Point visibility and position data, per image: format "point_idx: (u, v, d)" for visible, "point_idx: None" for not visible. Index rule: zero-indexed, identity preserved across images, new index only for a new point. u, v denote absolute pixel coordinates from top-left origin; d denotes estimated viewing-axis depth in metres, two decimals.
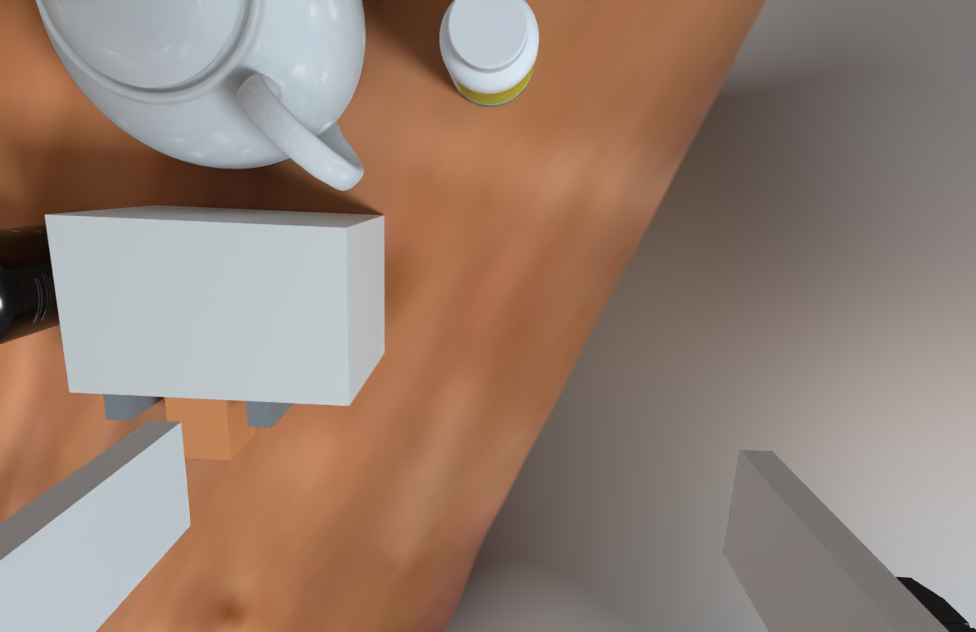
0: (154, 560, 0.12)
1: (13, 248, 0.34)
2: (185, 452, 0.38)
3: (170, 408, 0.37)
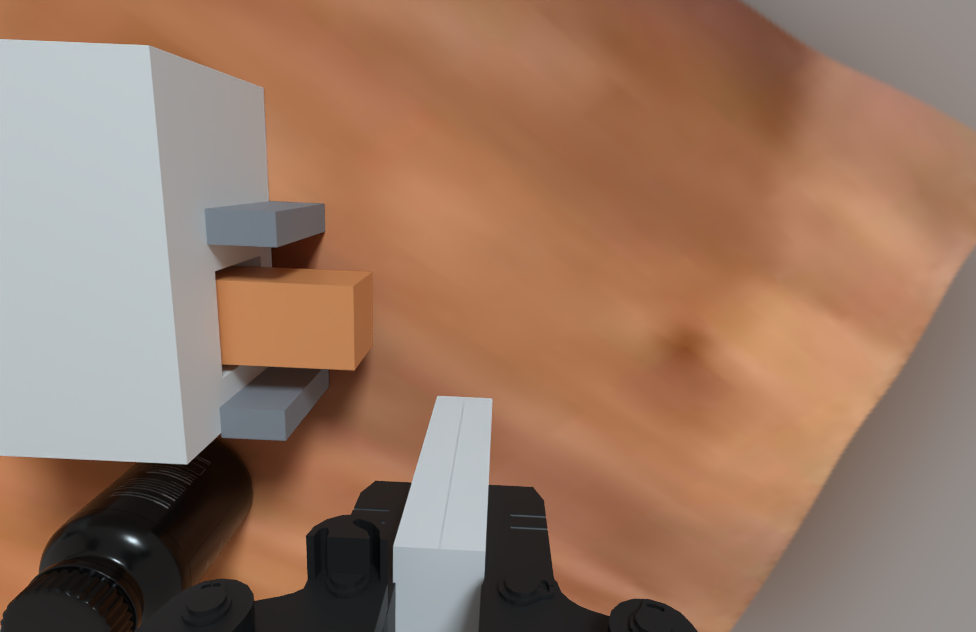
0: None
1: None
2: (344, 348, 0.27)
3: (279, 360, 0.27)
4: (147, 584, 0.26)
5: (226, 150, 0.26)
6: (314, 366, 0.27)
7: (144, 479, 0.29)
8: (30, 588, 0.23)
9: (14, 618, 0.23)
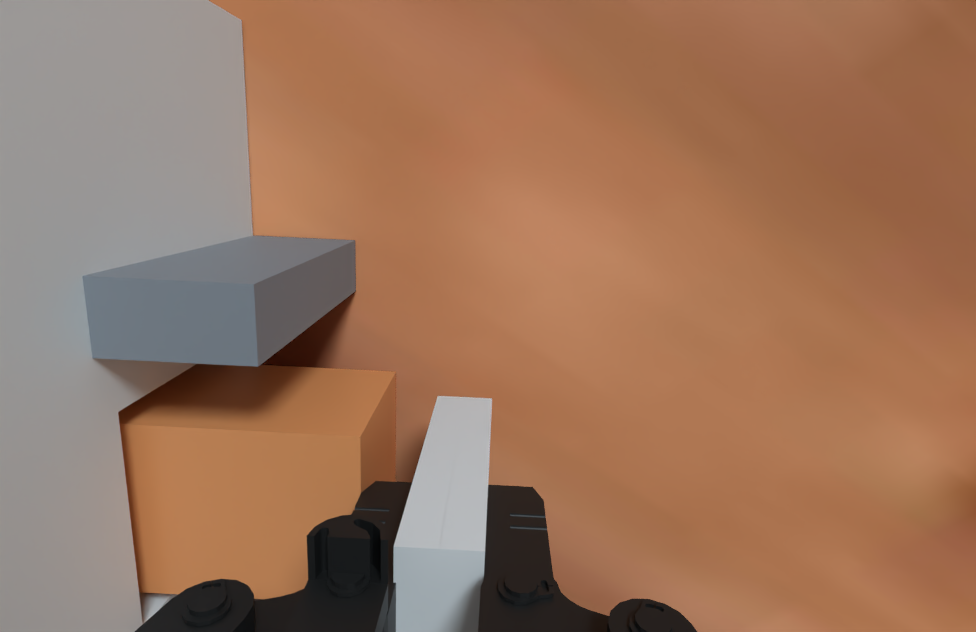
0: None
1: None
2: None
3: None
4: None
5: (149, 136, 0.12)
6: (277, 596, 0.13)
7: None
8: None
9: None
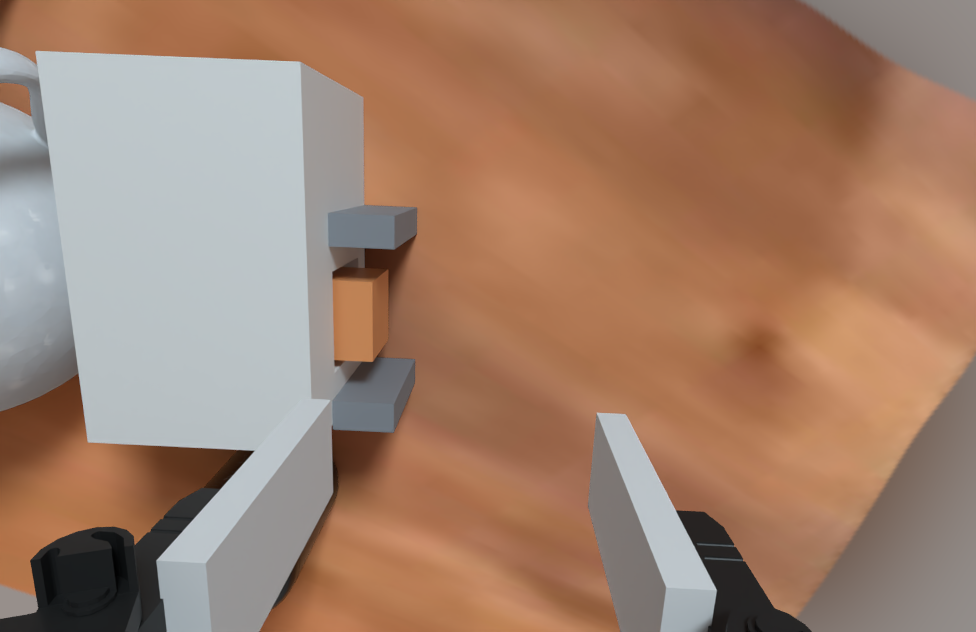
0: (316, 520, 0.14)
1: None
2: (363, 341, 0.28)
3: None
4: None
5: (341, 157, 0.27)
6: (335, 358, 0.28)
7: None
8: None
9: None
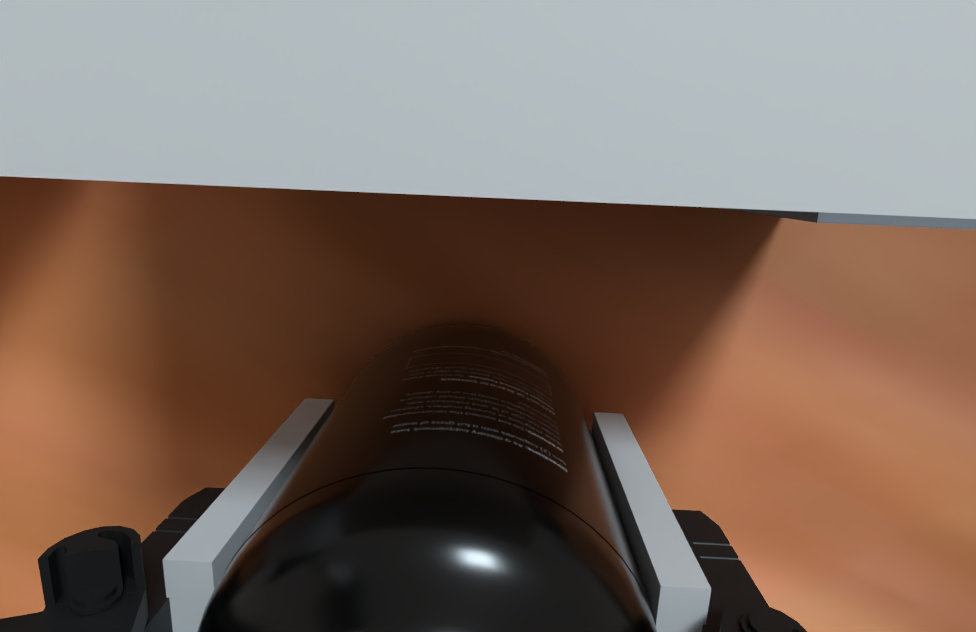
0: None
1: (283, 487, 0.09)
2: None
3: None
4: None
5: None
6: None
7: (453, 394, 0.10)
8: None
9: None
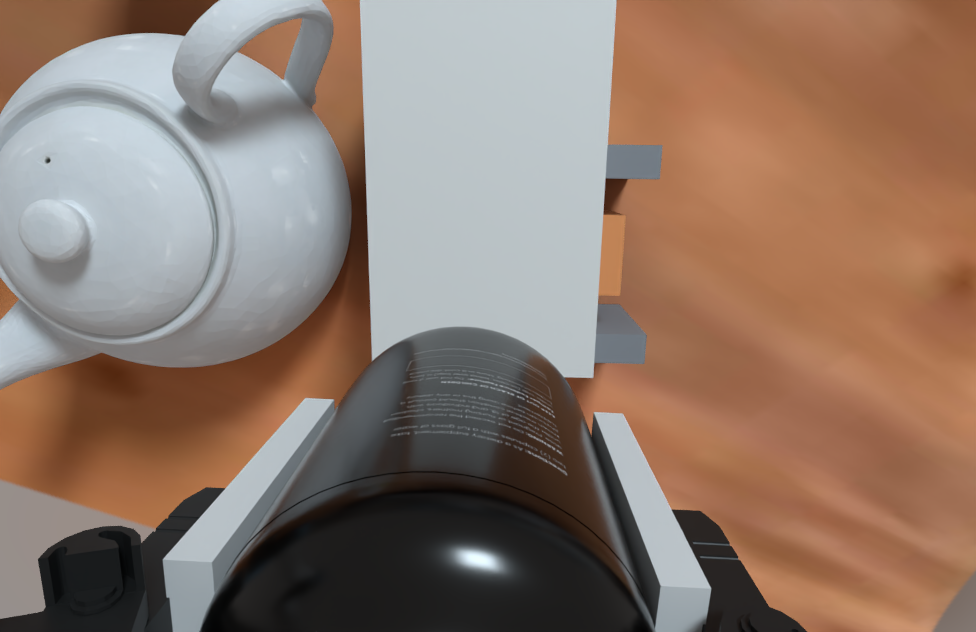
0: None
1: (283, 490, 0.09)
2: (612, 275, 0.29)
3: None
4: None
5: None
6: None
7: (453, 397, 0.10)
8: None
9: None
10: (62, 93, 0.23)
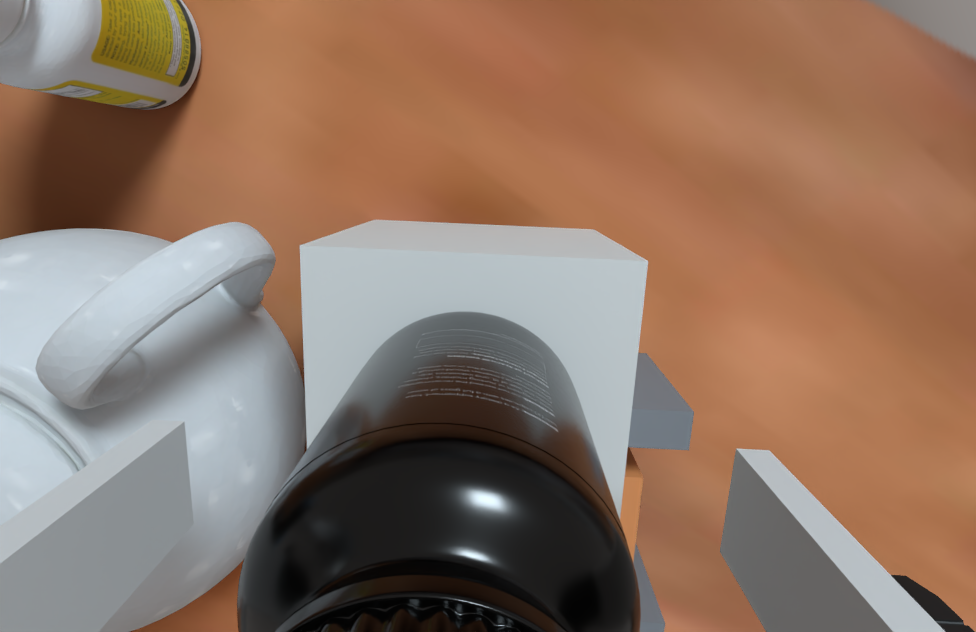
0: (158, 559, 0.13)
1: (311, 446, 0.11)
2: None
3: None
4: None
5: None
6: None
7: (458, 367, 0.12)
8: None
9: None
10: None
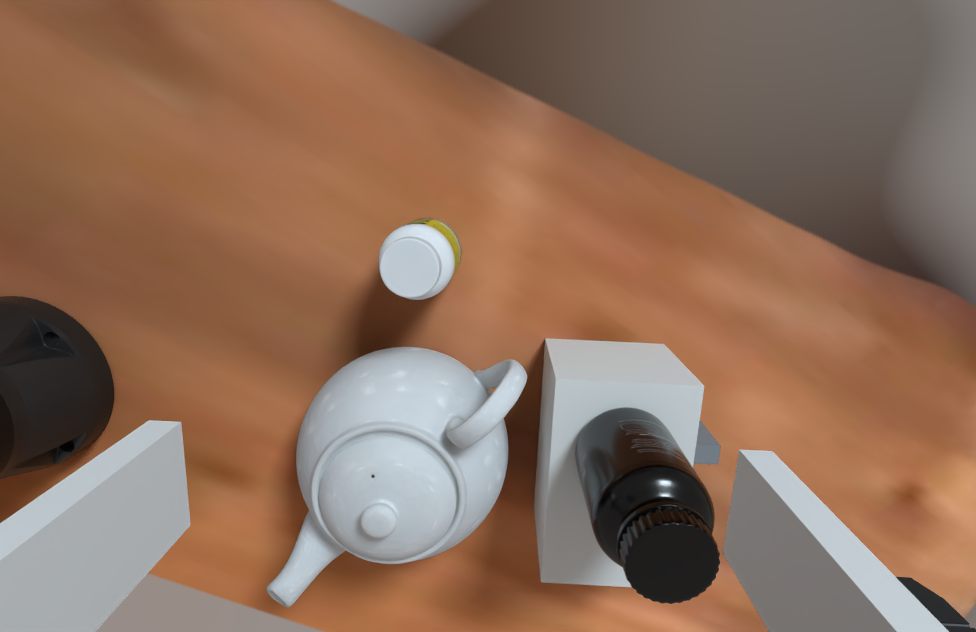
0: (154, 560, 0.12)
1: (605, 467, 0.33)
2: None
3: None
4: None
5: None
6: None
7: (647, 440, 0.34)
8: (655, 521, 0.28)
9: (642, 546, 0.28)
10: (376, 430, 0.40)
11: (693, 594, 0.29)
